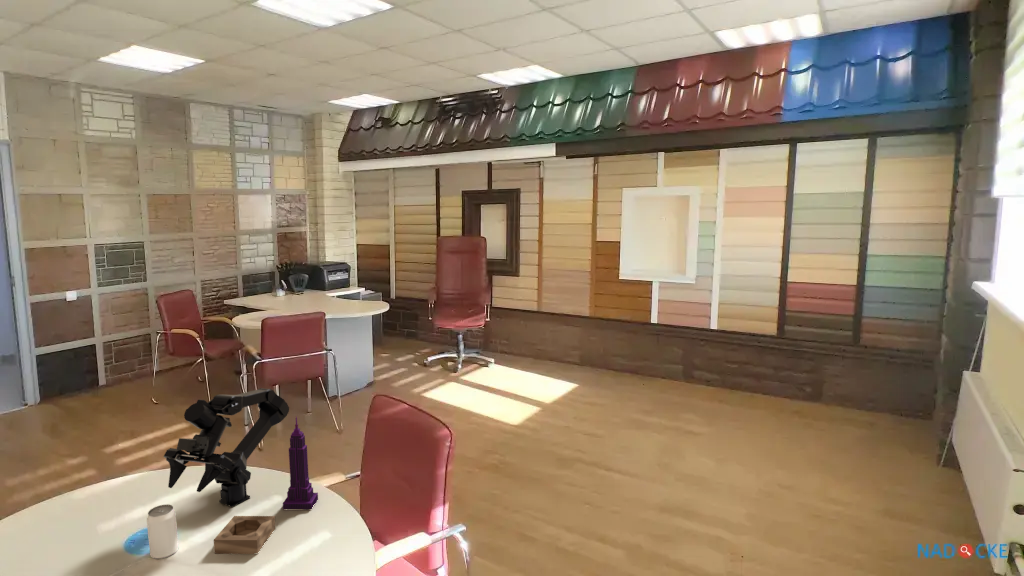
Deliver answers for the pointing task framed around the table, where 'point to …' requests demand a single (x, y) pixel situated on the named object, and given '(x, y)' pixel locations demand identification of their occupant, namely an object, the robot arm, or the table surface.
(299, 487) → the building model
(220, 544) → the socket block
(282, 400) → the robot arm
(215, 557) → the table surface
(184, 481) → the table surface
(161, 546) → the can
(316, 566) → the table surface
